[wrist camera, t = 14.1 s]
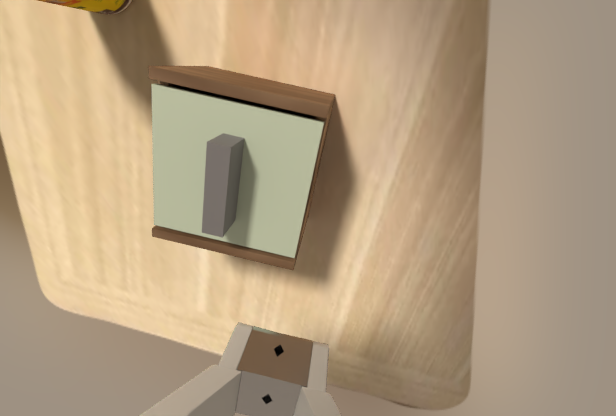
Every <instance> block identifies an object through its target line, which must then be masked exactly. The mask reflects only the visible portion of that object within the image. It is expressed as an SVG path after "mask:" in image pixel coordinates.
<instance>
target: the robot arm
mask: <svg viewBox="0 0 616 416" xmlns="http://www.w3.org/2000/svg"><path fill="white" fill-rule="evenodd" d="M328 356H329V346H328V344H324V343H320V342H315V341H312V340H307V339H303V338H299V337H295V336H290V335H286V334H281V333H277V332H273V331H270V330H266V329H262V328H259V327H255V326H251V325H247V324H243V323H240V322H238V324H237V325H236V326H235V329H234V331H233V333H232V335H231V338H230V340H229V342H228V344H227V347H226V349H225V351H224V353H223V355H222V358H221V360H220V362H219V364H218V365H215V364H214V365H212V366H210V367H209V368H207V369H206V370H204V371H203V372H201V373H200V374H199V375H197V376H196V377H194V378H193V379H191V380H190V381H188V382H187V383H186V384H184V385H183V386H181V387H180V388H179V389H177V390H176V391H174V392H173V393H171V394H170V395H168V396H167V397H166V398H164V399H163V400H161V401H160V402H158V403H157V404H155V405H154V406H152V407H151V408H150V409H148V410H147V411H145V412H144V413H143V414H141V415H139V416H233V415H234V414H235V413H240V414H245V415H249V416H342V415H341V413H340V411H339V409H338V407H337V405H336V403H335V401H334V399H333V397H332V395H331V394H330V393H326V384H327V370H328Z"/></svg>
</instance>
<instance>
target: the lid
mask: <svg viewBox="0 0 616 416" xmlns="http://www.w3.org/2000/svg"><path fill="white" fill-rule="evenodd" d="M151 86H152V139H153V193H154V225H157V226H161V227H166V228H170V229H174V230H178V231H182V232H186V233H191V234H195V235H199V236H203V237H207V238H212V239H216V240H220V241H224V242H228V243H233V244H237V245H241V246H245V247H249V248H253V249H258V250H262V251H266V252H270V253H274V254H279V255H283V256H287V257H291V258H295V255H296V250H297V246H298V241H299V236H300V232H301V227H302V223H303V218H304V213H305V209H306V204H307V200H308V195H309V190H310V186H311V181H312V177H313V172H314V167H315V163H316V158H317V154H318V149H319V144H320V140H321V135H322V131H323V126H324V121H321V120H316V119H312V118H307V117H303V116H299V115H294V114H290V113H285V112H281V111H277V110H272V109H268V108H263V107H259V106H254V105H250V104H246V103H241V102H237V101H232V100H228V99H223V98H219V97H215V96H210V95H206V94H201V93H197V92H192V91H188V90H184V89H179V88H175V87H170V86H166V85H161V84H151Z"/></svg>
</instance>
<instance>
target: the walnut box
mask: <svg viewBox="0 0 616 416" xmlns="http://www.w3.org/2000/svg"><path fill="white" fill-rule="evenodd" d="M149 79H154V80H158V84H161V85H166V86H170V87H175V88H179V89H184V90H188V91H192V92H197V93H201V94H206V95H210V96H215V97H219V98H223V99H228V100H232V101H237V102H241V103H246V104H250V105H254V106H259V107H263V108H268V109H272V110H277V111H281V112H285V113H290V114H294V115H299V116H303V117H307V118H312V119H316V120H321V121H324V126H323V131H322V135H321V140H320V144H319V149H318V154H317V158H316V163H315V167H314V172H313V177H312V181H311V186H310V190H309V195H308V200H307V204H306V209H305V213H304V218H303V223H302V227H301V232H300V236H299V241H298V246H297V250H296V255H295V258H291V257H287V256H283V255H279V254H274V253H270V252H266V251H262V250H258V249H253V248H249V247H245V246H241V245H237V244H233V243H228V242H224V241H220V240H216V239H212V238H207V237H203V236H199V235H195V234H191V233H186V232H182V231H178V230H174V229H170V228H166V227H161V226H157V225H156V226H155V227H153V228H152V236H153V237H157V238H161V239H165V240H169V241H174V242H178V243H182V244H186V245H190V246H194V247H199V248H203V249H207V250H211V251H215V252H219V253H224V254H228V255H232V256H236V257H240V258H244V259H249V260H253V261H257V262H261V263H265V264H269V265H274V266H278V267H282V268H286V269H290V270H293V269H294V265H295V262H296V258H297V255H298V251H299V247H300V244H301V240H302V237H303V233H304V229H305V226H306V222H307V218H308V214H309V209H310V205H311V200H312V196H313V192H314V187H315V183H316V178H317V174H318V169H319V165H320V160H321V156H322V151H323V147H324V142H325V138H326V133H327V129H328V124H329V120H330V115H331V111H332V107H333V102H334V98H335V95H334V94H330V93H325V92H321V91H316V90H312V89H307V88H303V87H298V86H294V85H289V84H285V83H280V82H276V81H271V80H267V79H262V78H258V77H254V76H249V75H245V74H240V73H236V72H231V71H227V70H222V69H218V68H213V67H209V66H149Z"/></svg>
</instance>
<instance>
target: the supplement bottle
mask: <svg viewBox="0 0 616 416" xmlns="http://www.w3.org/2000/svg"><path fill="white" fill-rule="evenodd" d="M38 1H43V2H48V3H53V4H58V5H62V6H67V7H72V8H77V9H82V10H87V11H92V12H96V13H101V14H116V13H119V12H121V11H123V10H124V9H126V8H127V7H128V6H129V4H130V3H131V1H132V0H38Z"/></svg>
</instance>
